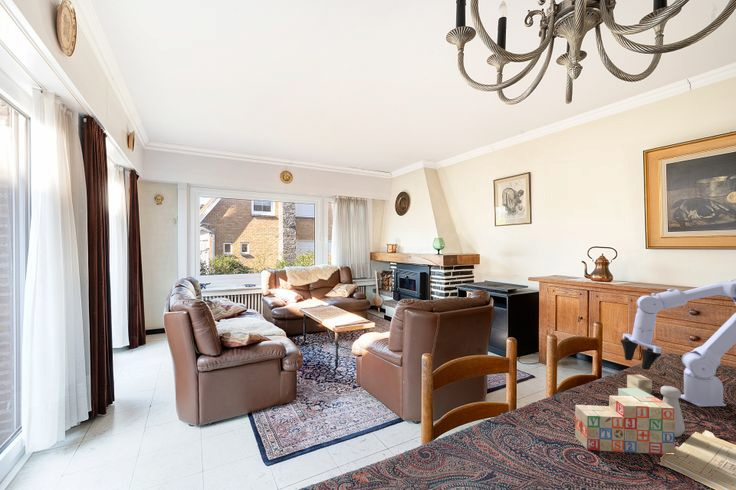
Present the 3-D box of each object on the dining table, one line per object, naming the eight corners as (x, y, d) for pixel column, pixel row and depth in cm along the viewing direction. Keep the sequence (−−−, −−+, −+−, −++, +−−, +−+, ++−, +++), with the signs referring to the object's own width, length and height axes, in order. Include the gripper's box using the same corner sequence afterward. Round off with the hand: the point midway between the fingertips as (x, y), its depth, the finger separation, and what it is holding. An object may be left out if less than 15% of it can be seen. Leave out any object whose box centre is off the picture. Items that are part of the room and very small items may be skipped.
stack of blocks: (586, 450, 88) (586, 404, 88) (574, 437, 94) (574, 393, 94) (675, 455, 86) (675, 407, 86) (657, 441, 92) (656, 396, 92)
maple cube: (640, 387, 125) (640, 374, 125) (651, 393, 120) (651, 380, 120) (627, 388, 125) (627, 374, 125) (638, 394, 120) (638, 380, 120)
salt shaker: (678, 429, 97) (677, 384, 97) (689, 440, 92) (689, 393, 92) (653, 426, 99) (653, 382, 99) (663, 436, 94) (663, 390, 94)
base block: (637, 396, 118) (637, 387, 118) (655, 405, 111) (655, 396, 111) (618, 396, 118) (618, 388, 118) (634, 406, 111) (634, 397, 111)
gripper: (617, 321, 128) (611, 355, 129) (650, 334, 114) (643, 372, 115) (635, 323, 129) (628, 357, 130) (670, 336, 114) (662, 374, 115)
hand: (636, 364), depth 122 cm, fingers open, 7 cm apart
